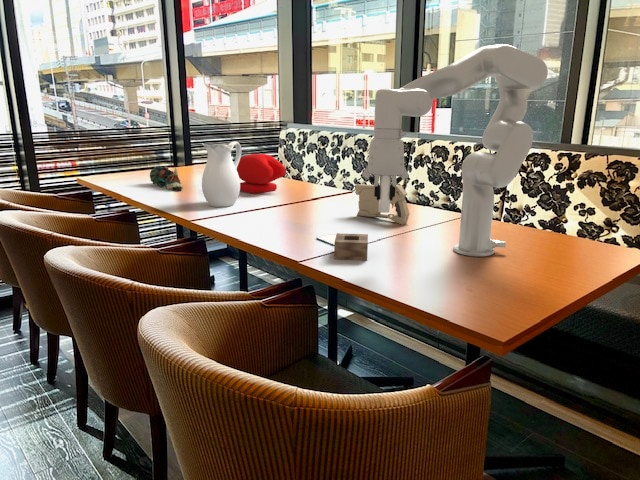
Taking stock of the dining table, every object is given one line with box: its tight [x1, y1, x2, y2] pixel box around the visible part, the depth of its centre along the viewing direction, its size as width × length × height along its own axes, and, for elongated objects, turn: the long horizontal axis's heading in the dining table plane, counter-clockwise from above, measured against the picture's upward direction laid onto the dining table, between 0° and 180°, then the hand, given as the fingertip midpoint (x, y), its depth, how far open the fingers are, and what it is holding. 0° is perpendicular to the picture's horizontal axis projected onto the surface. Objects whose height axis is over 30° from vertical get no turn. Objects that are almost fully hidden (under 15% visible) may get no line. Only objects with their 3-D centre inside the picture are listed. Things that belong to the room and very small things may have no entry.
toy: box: [236, 153, 287, 195], centre depth 265 cm, size 16×20×30 cm
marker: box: [378, 175, 392, 214], centre depth 149 cm, size 3×3×12 cm
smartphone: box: [316, 233, 336, 247], centre depth 176 cm, size 8×1×16 cm
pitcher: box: [201, 141, 243, 208], centre depth 234 cm, size 24×17×28 cm
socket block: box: [333, 233, 369, 261], centre depth 161 cm, size 10×10×6 cm
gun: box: [354, 183, 410, 226], centre depth 206 cm, size 24×3×15 cm, turn 47°
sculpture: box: [149, 165, 183, 192], centre depth 275 cm, size 13×13×30 cm
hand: (384, 198), depth 150 cm, fingers closed on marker, 3 cm apart
